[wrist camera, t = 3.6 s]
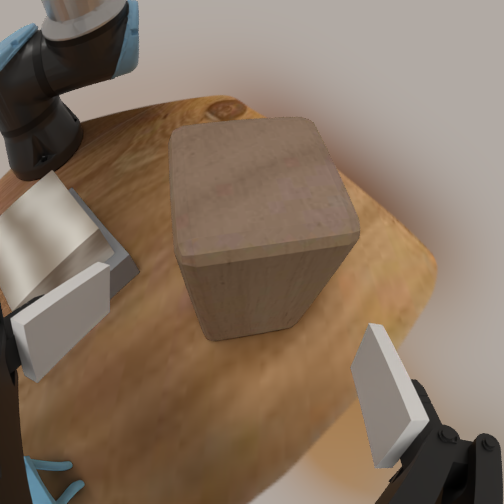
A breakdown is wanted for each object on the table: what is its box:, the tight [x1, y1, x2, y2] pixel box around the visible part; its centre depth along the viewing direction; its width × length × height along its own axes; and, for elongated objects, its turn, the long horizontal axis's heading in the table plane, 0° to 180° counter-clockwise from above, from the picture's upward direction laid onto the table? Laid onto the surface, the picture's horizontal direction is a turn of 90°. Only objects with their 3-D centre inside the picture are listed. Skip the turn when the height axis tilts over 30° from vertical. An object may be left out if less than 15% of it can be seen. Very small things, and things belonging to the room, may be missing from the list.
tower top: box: [0, 170, 114, 312], centre depth 28 cm, size 12×12×5 cm
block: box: [168, 117, 360, 341], centre depth 25 cm, size 10×10×20 cm
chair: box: [24, 456, 84, 504], centre depth 16 cm, size 8×8×12 cm
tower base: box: [68, 188, 140, 299], centre depth 32 cm, size 14×14×5 cm
